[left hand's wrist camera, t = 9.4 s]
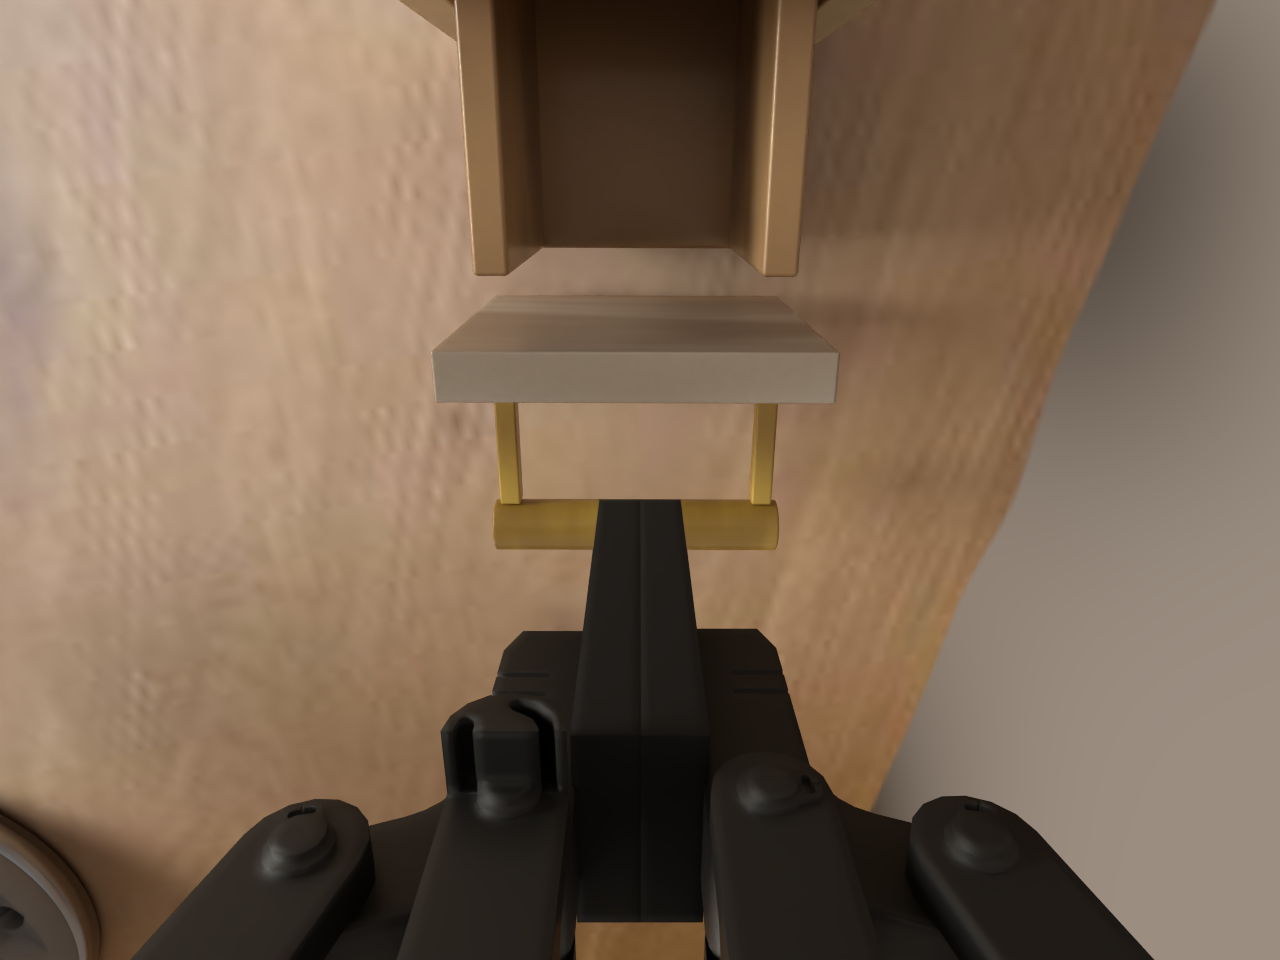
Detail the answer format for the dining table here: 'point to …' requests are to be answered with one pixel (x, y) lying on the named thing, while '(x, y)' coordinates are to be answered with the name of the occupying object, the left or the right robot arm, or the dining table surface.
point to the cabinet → (833, 11)
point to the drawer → (635, 227)
